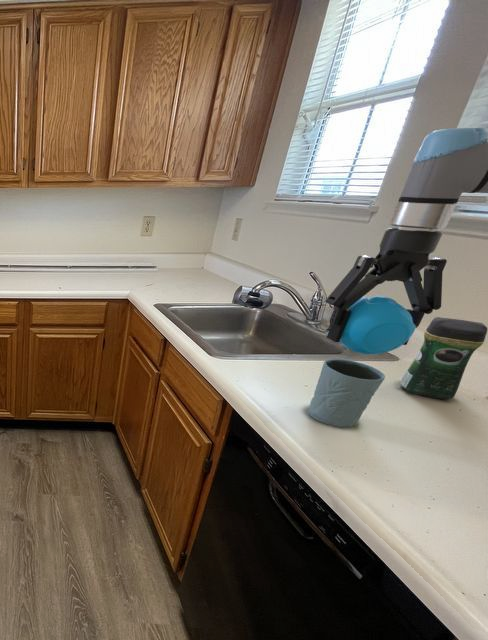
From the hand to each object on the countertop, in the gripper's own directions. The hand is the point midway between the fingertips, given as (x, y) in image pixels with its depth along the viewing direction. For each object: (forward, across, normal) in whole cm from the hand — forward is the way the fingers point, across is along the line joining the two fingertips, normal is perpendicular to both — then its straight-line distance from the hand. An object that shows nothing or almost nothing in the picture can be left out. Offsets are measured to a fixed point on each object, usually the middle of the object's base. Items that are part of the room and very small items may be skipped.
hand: (365, 341), depth 84 cm
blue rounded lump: (+2, 0, 0) cm, 3 cm away
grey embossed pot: (+18, 0, 0) cm, 18 cm away
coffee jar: (+18, -31, -16) cm, 39 cm away
